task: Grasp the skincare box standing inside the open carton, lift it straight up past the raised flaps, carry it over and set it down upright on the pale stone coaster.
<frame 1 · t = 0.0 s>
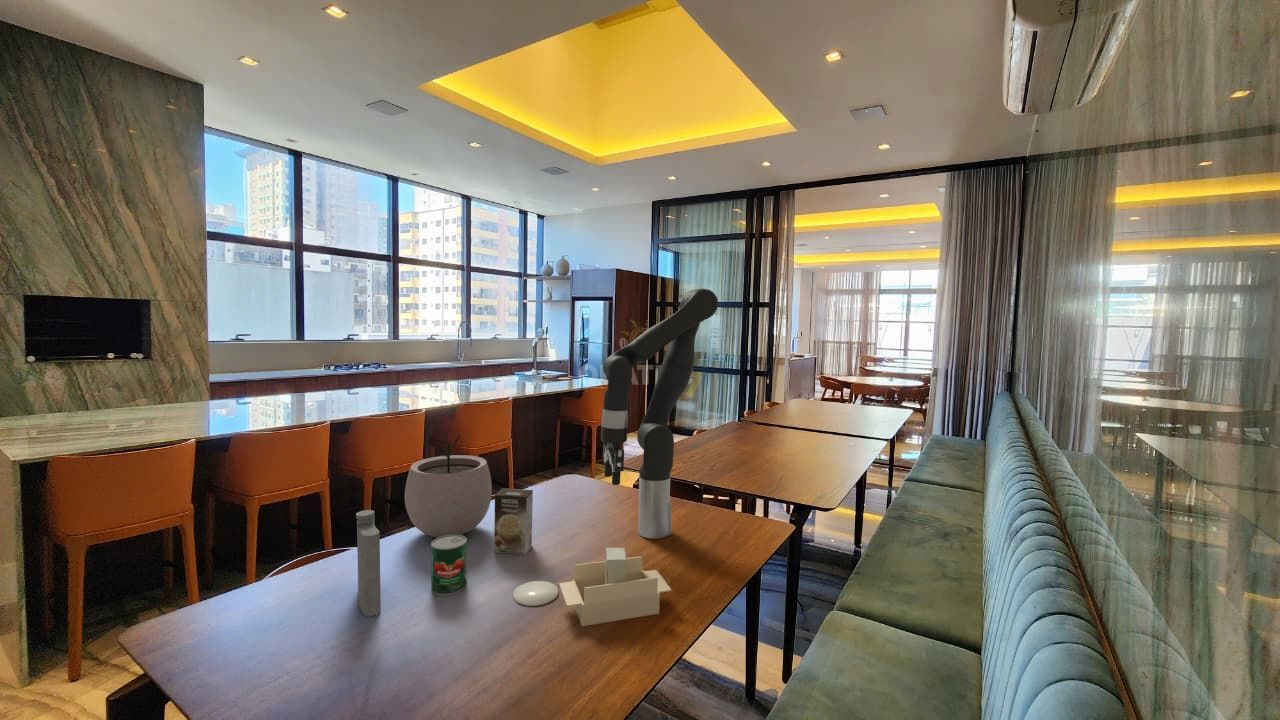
hand: (611, 480, 150), 17 cm above the table, tool pointing down, fingers open, 8 cm apart
canned tomato: (449, 587, 122), on the table
plant pot: (449, 533, 153), on the table
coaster: (535, 594, 119), on the table
hip flask: (367, 600, 116), on the table
coffee box: (513, 549, 143), on the table
skincare box: (614, 607, 115), resting in carton
carton: (614, 606, 115), on the table
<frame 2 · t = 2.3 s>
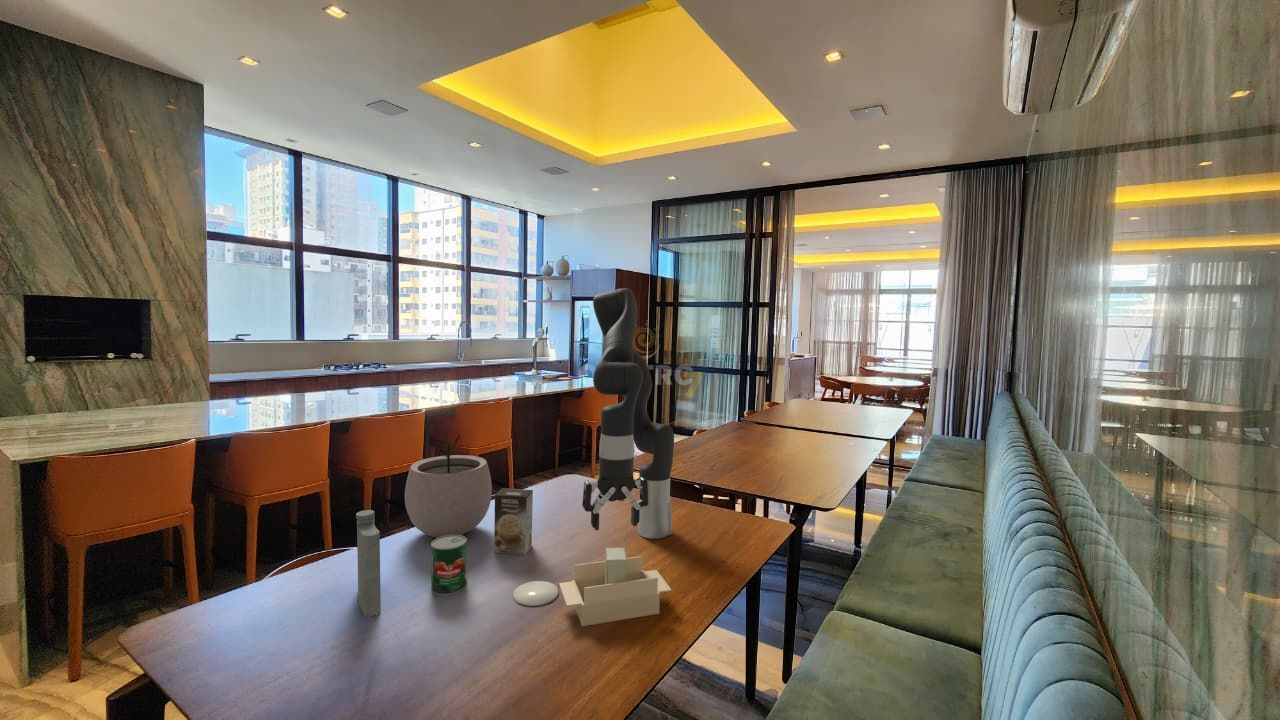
hand: (615, 527, 114), 18 cm above the table, tool pointing down, fingers open, 8 cm apart
nothing on the table moved.
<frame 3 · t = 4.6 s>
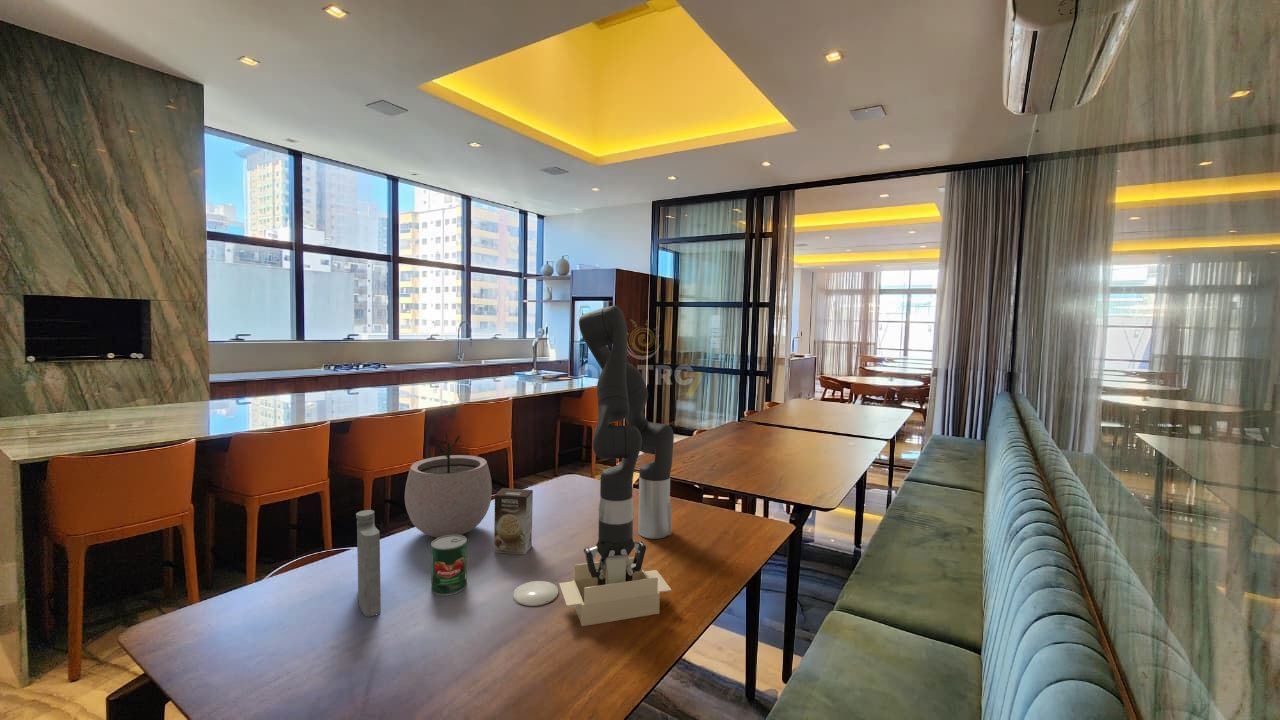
hand: (614, 591, 114), 3 cm above the table, tool pointing down, fingers closed on skincare box, 5 cm apart
skincare box: (614, 607, 115), resting in carton, touching gripper
everything else where it was.
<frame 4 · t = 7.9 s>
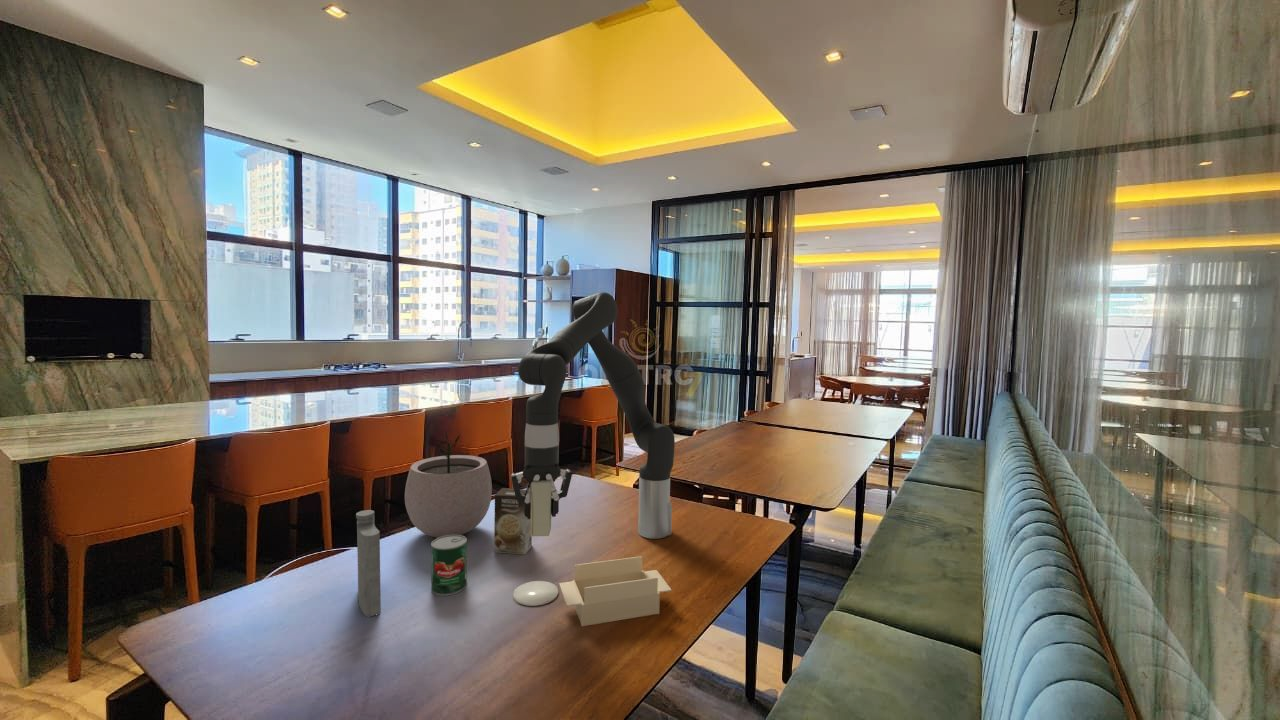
hand: (541, 516, 118), 18 cm above the table, tool pointing down, fingers closed on skincare box, 5 cm apart
skincare box: (541, 532, 118), point 15 cm above the table, touching gripper
everything else where it was.
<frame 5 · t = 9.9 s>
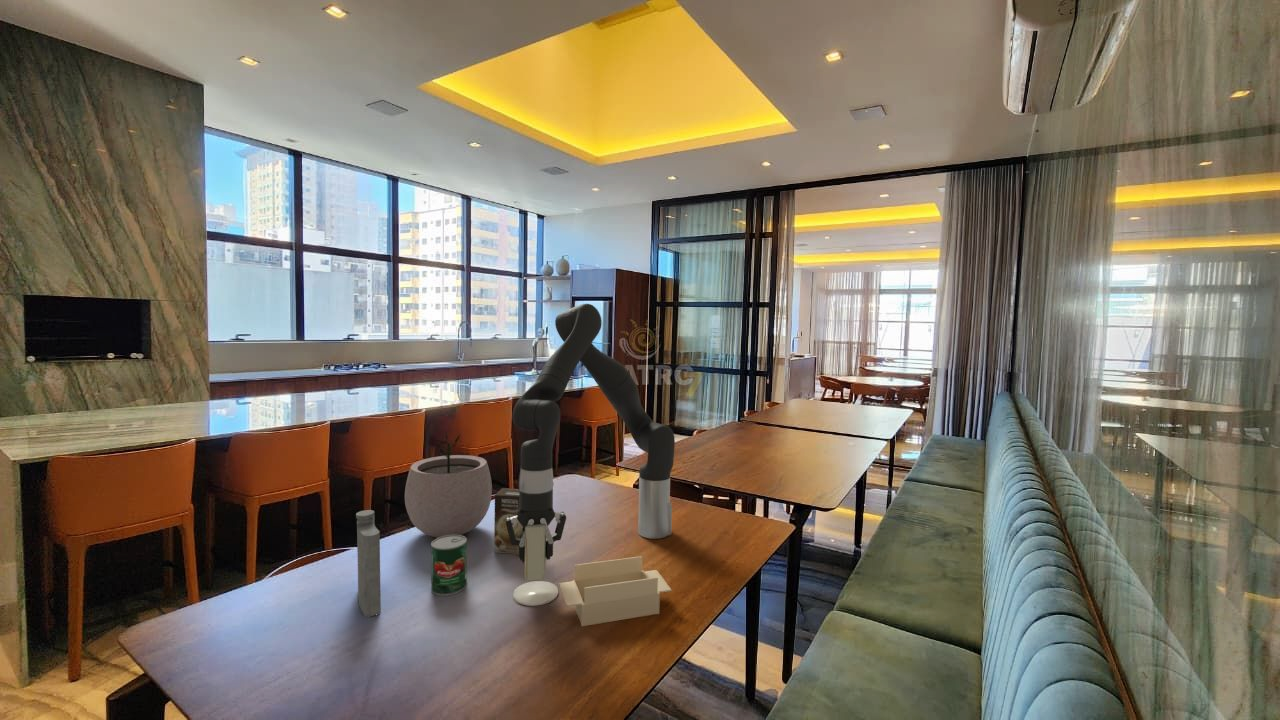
hand: (535, 559, 119), 8 cm above the table, tool pointing down, fingers closed on skincare box, 5 cm apart
skincare box: (535, 574, 119), point 5 cm above the table, touching gripper
everything else where it was.
when the fingers open (5 cm above the table, at t = 11.5 s): skincare box stays where it is, resting on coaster.
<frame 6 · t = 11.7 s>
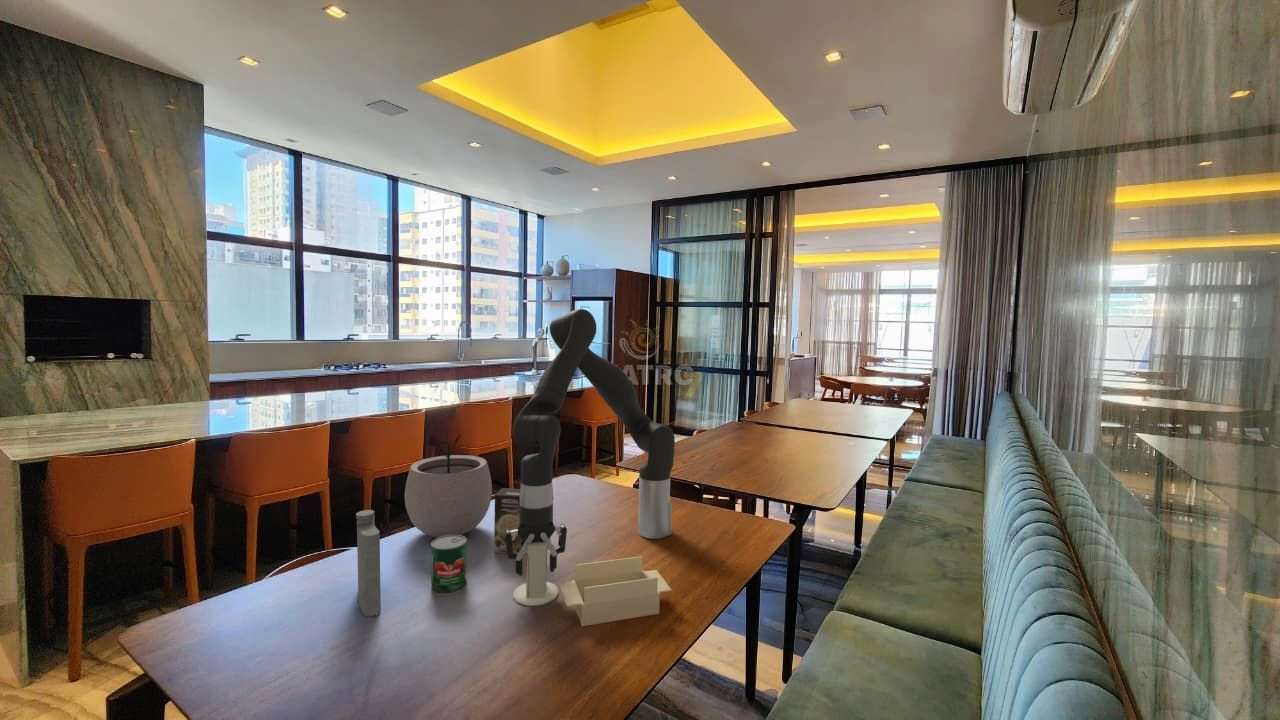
hand: (536, 572, 119), 5 cm above the table, tool pointing down, fingers open, 6 cm apart
skincare box: (536, 592, 119), resting on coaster
everything else where it was.
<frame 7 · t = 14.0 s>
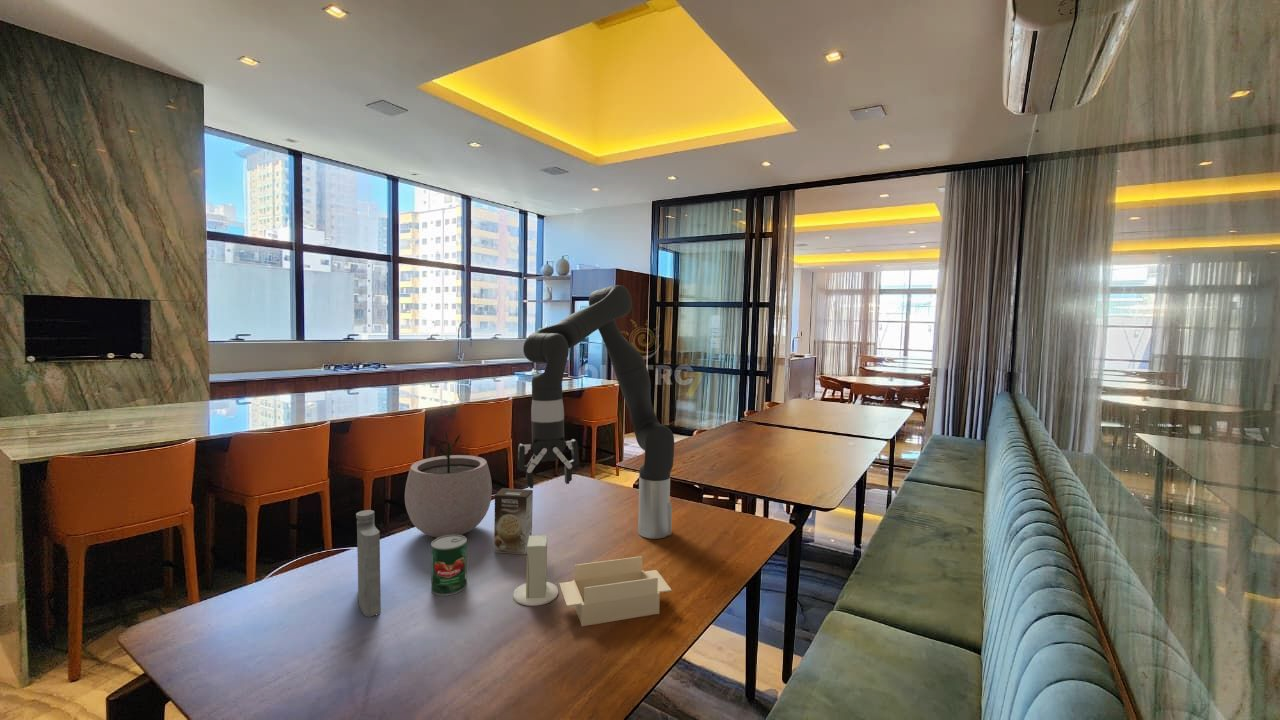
hand: (549, 485, 123), 24 cm above the table, tool pointing down, fingers open, 8 cm apart
nothing on the table moved.
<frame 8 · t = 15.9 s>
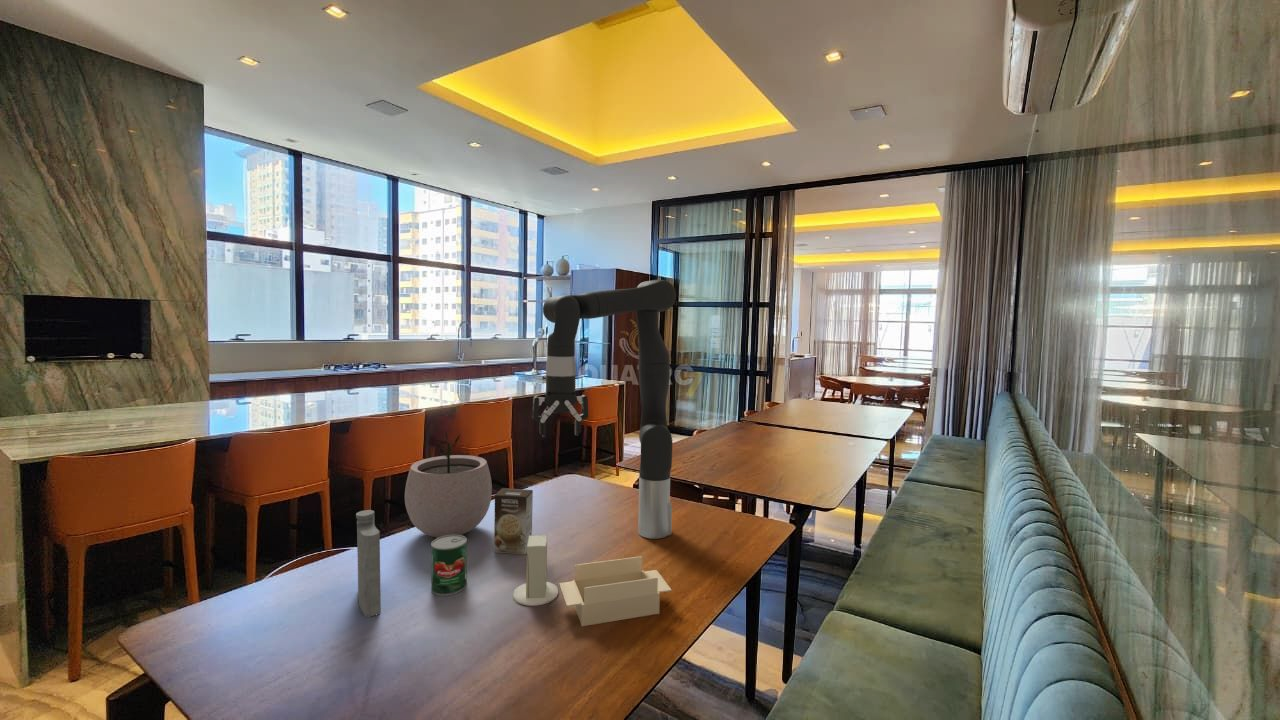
hand: (560, 435, 135), 33 cm above the table, tool pointing down, fingers open, 8 cm apart
nothing on the table moved.
at the end: skincare box 0.2 cm from the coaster (horizontally); skincare box tilted 0°; the gripper is holding nothing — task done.
